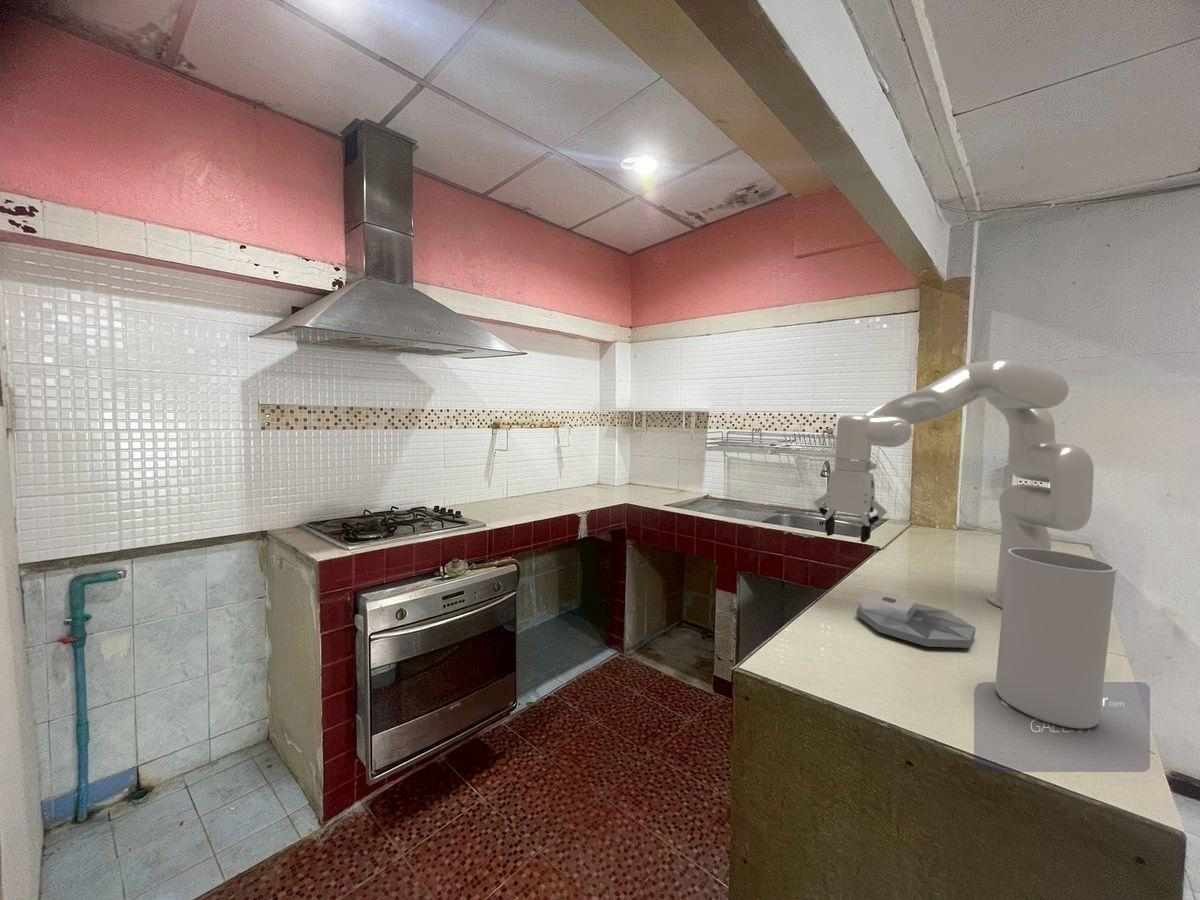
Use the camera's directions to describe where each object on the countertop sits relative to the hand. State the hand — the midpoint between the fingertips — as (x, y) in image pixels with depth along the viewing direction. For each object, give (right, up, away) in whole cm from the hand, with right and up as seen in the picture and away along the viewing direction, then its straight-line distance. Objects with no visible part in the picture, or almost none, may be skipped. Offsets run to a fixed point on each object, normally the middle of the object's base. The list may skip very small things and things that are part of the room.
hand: (846, 537), depth 115 cm
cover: (+7, -16, -6) cm, 18 cm away
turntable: (+10, -19, -9) cm, 23 cm away
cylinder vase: (+13, -21, -37) cm, 45 cm away
